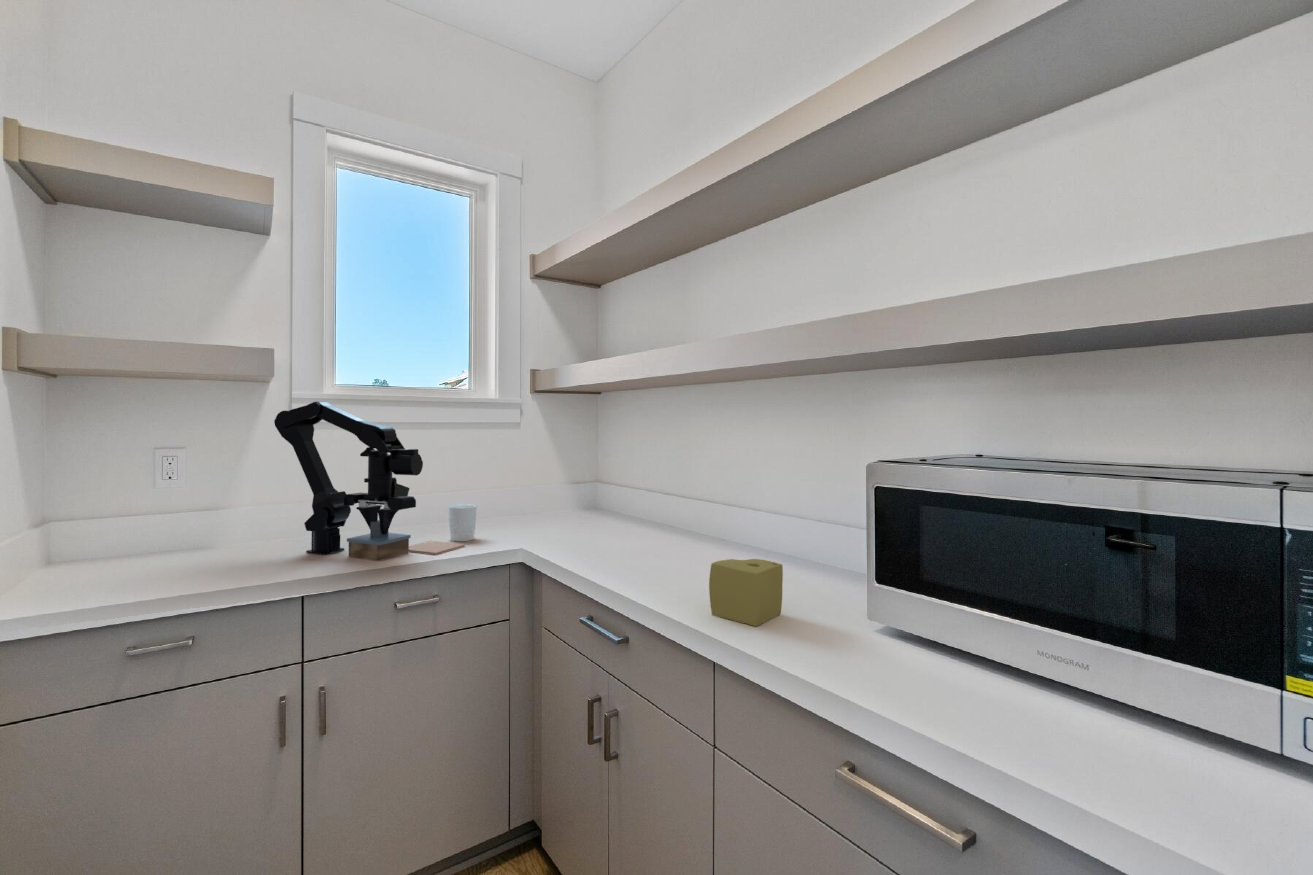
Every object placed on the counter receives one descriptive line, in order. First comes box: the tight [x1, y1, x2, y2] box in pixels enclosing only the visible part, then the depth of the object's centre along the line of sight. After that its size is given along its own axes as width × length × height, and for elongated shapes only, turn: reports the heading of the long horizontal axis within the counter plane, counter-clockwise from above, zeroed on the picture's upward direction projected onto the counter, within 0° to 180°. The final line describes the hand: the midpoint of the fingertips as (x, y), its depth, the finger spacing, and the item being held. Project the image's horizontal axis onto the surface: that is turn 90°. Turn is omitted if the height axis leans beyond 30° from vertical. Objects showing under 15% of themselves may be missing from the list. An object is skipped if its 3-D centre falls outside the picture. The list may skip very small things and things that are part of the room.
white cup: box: [448, 503, 478, 542], centre depth 174 cm, size 8×8×10 cm
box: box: [348, 538, 410, 562], centre depth 152 cm, size 10×10×4 cm
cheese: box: [708, 558, 784, 627], centre depth 110 cm, size 10×11×10 cm
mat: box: [409, 540, 466, 556], centre depth 161 cm, size 12×12×1 cm
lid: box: [346, 519, 412, 545], centre depth 152 cm, size 11×11×6 cm
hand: (379, 533), depth 152 cm, fingers closed on lid, 3 cm apart
